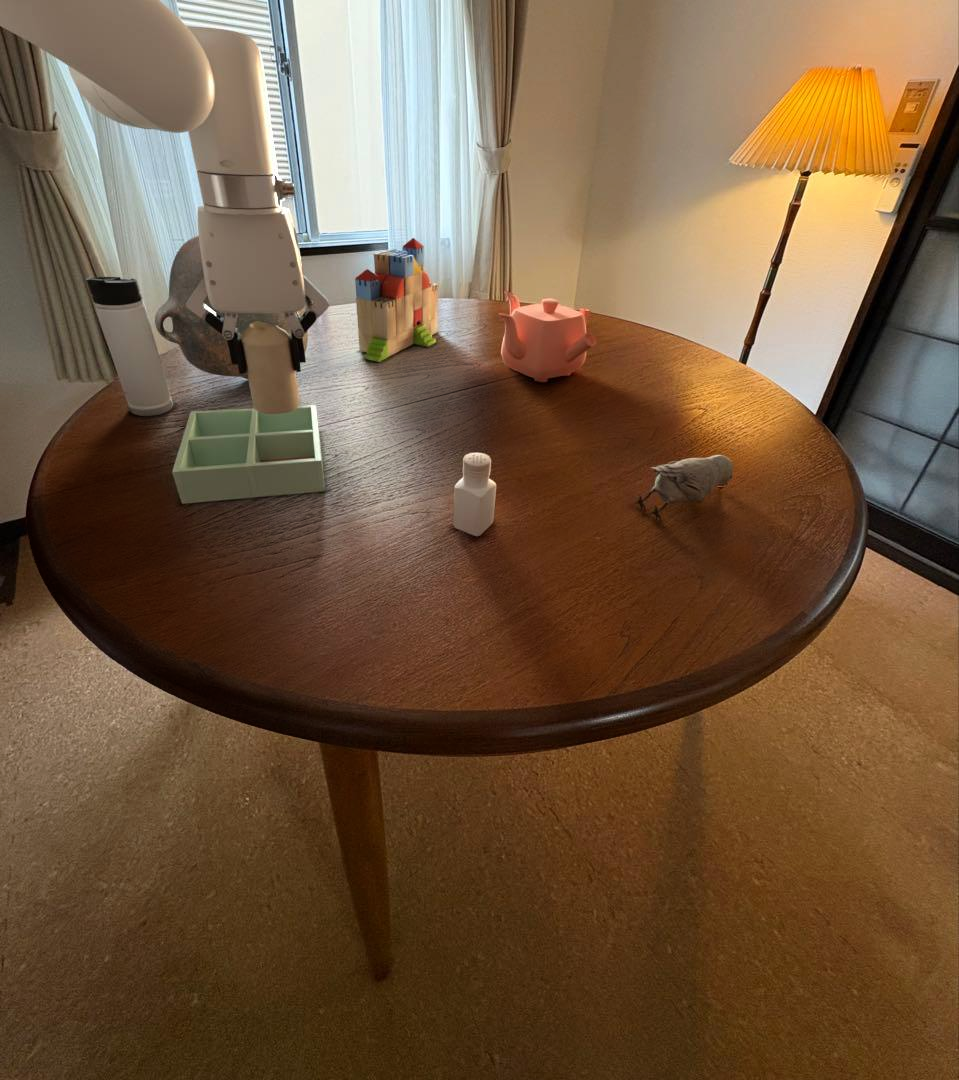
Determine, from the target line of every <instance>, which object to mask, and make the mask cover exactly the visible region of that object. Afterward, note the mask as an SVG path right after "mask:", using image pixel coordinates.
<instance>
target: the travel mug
mask: <svg viewBox="0 0 959 1080" xmlns="http://www.w3.org/2000/svg"><path fill="white" fill-rule="evenodd" d="M85 281H86V284H87V287H88V290H89V293H90V295H91V298H92V302H93V305H94V308H95V312H96V314H97V317H98V321H99V323H100V327H101V330H102V331H103V335H104V338H105V341H106V344H107V347H108V350H109V353H110V356H111V359H112V361H113V365H114V367H115V370H116V373H117V377H118V380H119V383H120V386H121V388H122V391H123V394H124V397H125V399H126V402H127V406H128V409H129V412H130V413H132V414H133V415H135V416H140V417H141V416H142V417H153V416H159V415H162V414H163V415H164V414H165V413H167V412H169V411H171V410H172V408H173V407H174V403H173V399H172V396H171V392H170V388H169V384H168V382H167V378H166V374H165V371H164V368H163V364H162V361H161V357H160V354H159V350H158V347H157V343H156V341H155V336H154V333H153V330H152V326H151V323H150V319H149V316H148V312H147V308H146V305H145V303H144V299H143V297H142V293H141V289H140V285H139V283H138V279H136V278H130V279H127V278H121V277H120V276H93V277H87V278H86V280H85Z"/></svg>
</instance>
